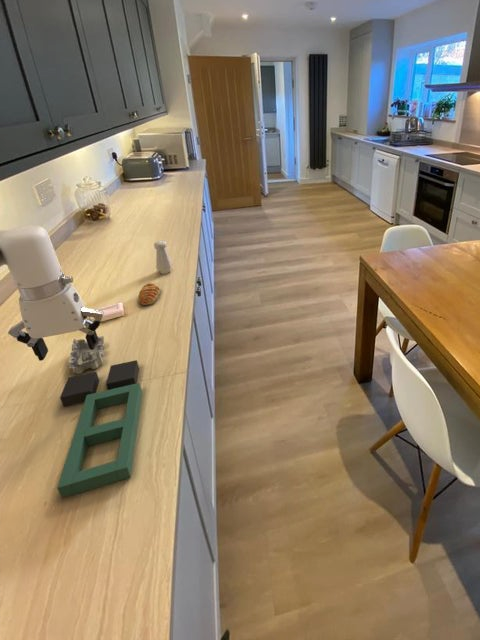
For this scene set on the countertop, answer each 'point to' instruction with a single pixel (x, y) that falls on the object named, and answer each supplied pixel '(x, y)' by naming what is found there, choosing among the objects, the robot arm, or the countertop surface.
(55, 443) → the countertop surface
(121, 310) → the soap bar
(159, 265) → the salt shaker
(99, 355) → the egg carton
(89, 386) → the pad
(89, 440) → the green double tile frame
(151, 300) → the pastry
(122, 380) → the pad
